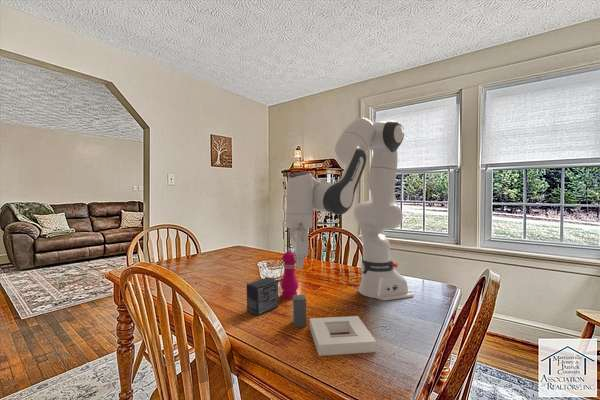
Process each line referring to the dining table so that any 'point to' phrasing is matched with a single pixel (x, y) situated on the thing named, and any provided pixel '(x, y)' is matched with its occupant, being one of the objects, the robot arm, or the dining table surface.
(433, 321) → the dining table surface
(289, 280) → the pepper mill
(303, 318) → the plug
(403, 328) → the dining table surface
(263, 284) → the small box
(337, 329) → the socket
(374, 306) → the dining table surface
